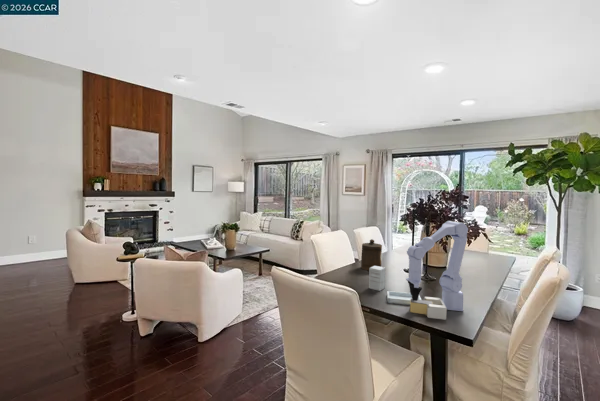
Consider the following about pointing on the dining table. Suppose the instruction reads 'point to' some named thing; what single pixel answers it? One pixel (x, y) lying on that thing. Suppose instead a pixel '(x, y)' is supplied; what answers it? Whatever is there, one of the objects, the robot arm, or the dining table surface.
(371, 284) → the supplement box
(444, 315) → the bay
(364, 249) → the wooden container
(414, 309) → the yellow rectangular block
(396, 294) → the tray
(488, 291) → the dining table surface
